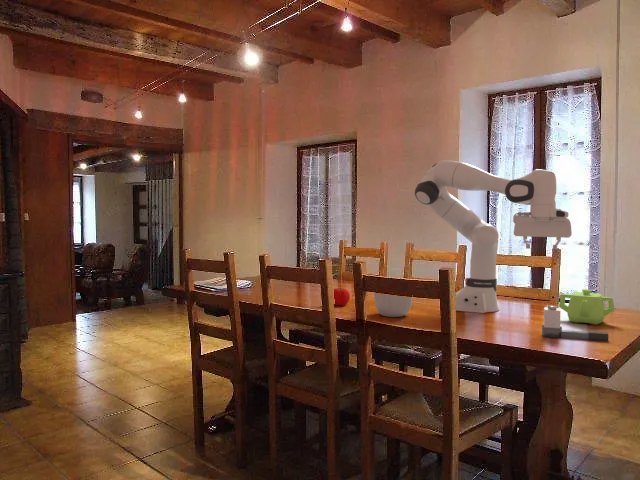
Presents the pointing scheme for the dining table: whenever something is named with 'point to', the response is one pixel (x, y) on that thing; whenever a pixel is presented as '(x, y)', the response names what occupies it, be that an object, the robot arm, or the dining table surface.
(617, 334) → the dining table surface
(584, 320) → the teapot
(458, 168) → the robot arm
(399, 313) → the white rounded bowl
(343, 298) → the tomato
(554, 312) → the cube with grey knob
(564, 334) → the ratchet
